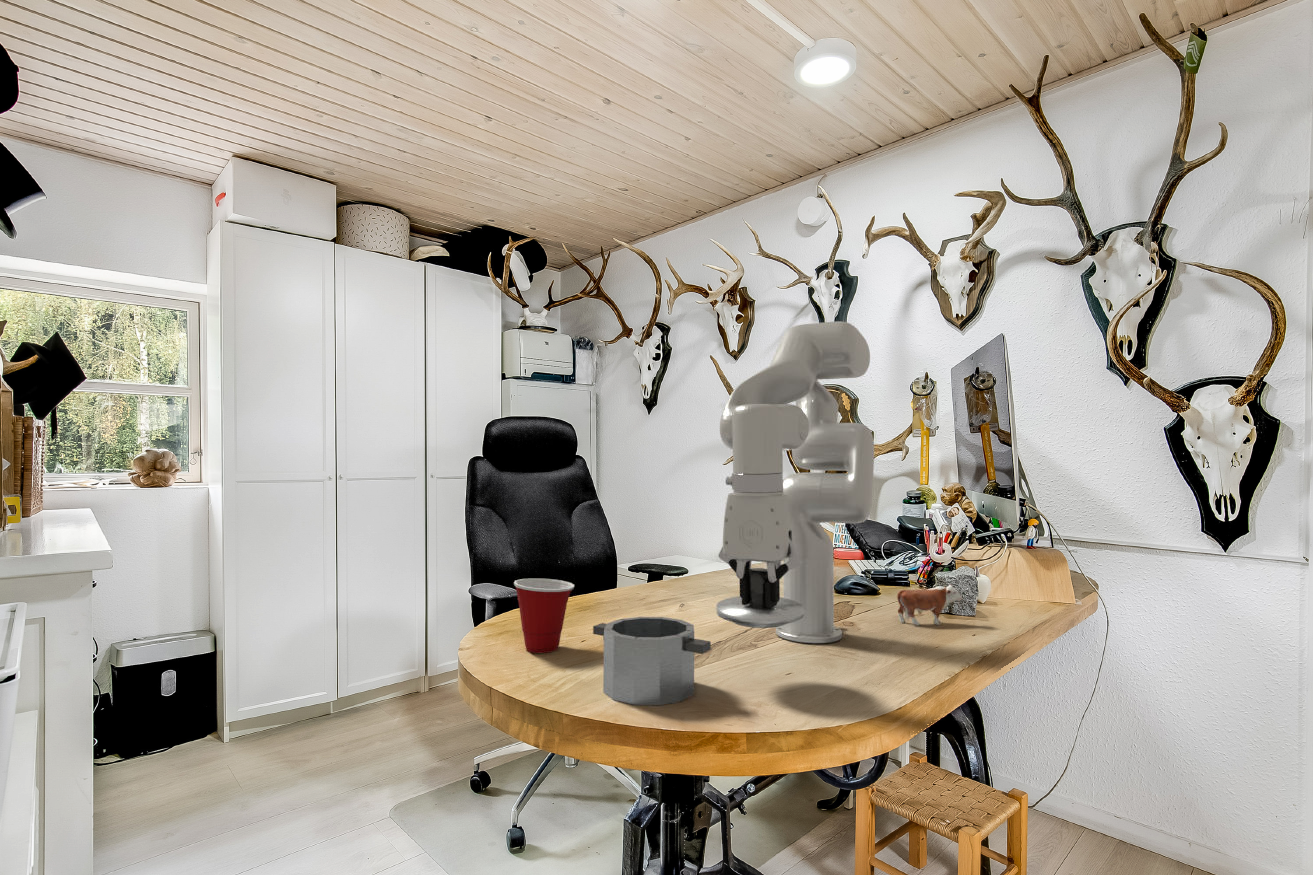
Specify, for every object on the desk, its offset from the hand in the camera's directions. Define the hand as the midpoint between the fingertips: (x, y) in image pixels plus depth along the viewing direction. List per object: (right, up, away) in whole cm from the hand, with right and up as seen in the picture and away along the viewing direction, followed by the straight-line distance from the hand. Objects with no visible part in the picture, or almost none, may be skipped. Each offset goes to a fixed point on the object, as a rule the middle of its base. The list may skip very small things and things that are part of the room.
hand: (759, 603), depth 100 cm
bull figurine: (+41, -14, +37) cm, 57 cm away
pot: (-17, -12, -3) cm, 21 cm away
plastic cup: (-36, -13, +17) cm, 42 cm away
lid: (0, -2, 0) cm, 2 cm away
